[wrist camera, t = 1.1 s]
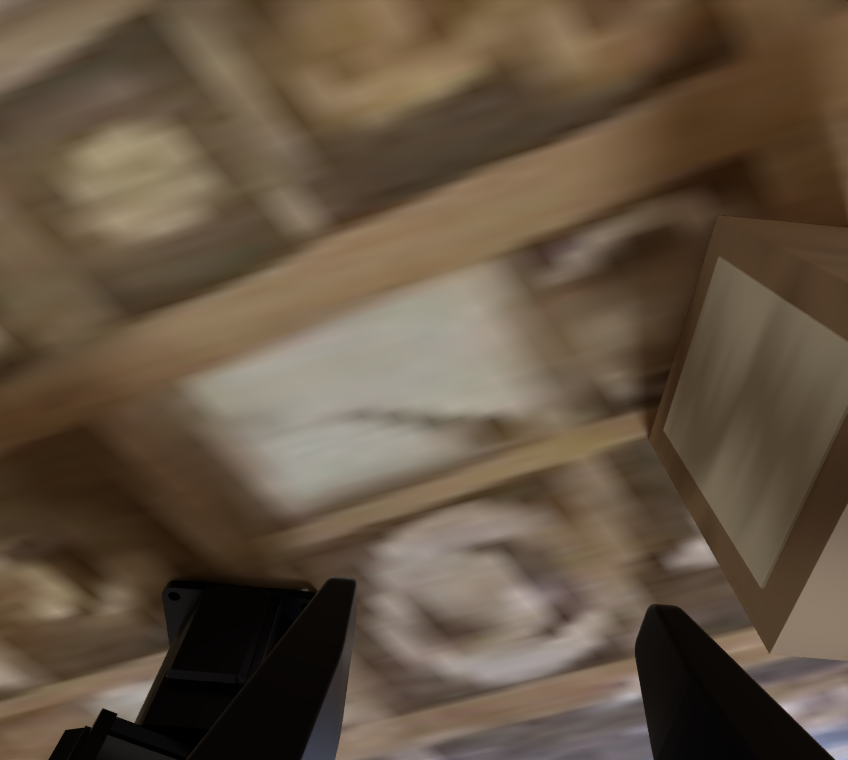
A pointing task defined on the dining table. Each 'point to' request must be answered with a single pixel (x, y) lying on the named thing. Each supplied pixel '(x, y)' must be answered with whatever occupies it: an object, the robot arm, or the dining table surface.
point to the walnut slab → (768, 426)
